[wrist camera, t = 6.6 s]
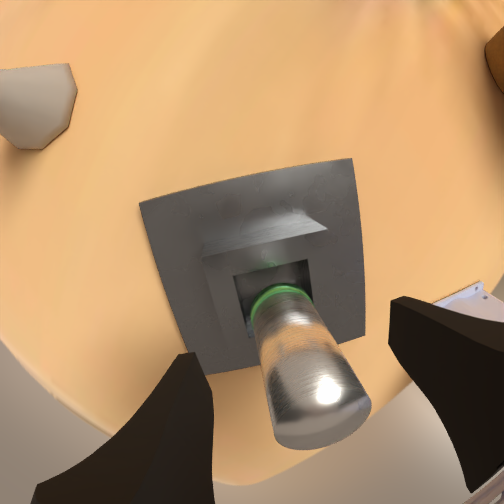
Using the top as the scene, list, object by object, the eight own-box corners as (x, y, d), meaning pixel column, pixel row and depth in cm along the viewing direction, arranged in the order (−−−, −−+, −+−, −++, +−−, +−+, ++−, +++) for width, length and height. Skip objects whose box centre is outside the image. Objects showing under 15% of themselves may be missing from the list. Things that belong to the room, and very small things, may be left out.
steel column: (306, 275, 14) (376, 373, 7) (313, 327, 15) (368, 432, 8) (243, 290, 14) (263, 407, 7) (256, 342, 15) (280, 458, 8)
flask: (15, 85, 13) (-63, 67, 3) (80, 51, 13) (6, 0, 3) (15, 162, 15) (-75, 174, 5) (80, 134, 15) (-19, 121, 6)
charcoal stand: (345, 158, 17) (374, 157, 14) (360, 329, 22) (381, 356, 18) (143, 201, 17) (122, 210, 13) (199, 368, 21) (196, 402, 17)
